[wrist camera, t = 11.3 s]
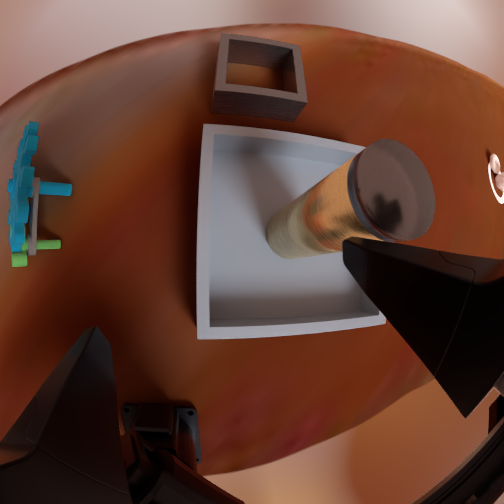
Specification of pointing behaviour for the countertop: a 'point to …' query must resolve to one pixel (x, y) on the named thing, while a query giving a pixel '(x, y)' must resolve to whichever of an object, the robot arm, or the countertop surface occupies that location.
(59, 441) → the robot arm
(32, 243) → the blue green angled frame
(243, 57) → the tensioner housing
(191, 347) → the countertop surface
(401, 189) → the capped labeled canister
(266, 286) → the tray
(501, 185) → the teacup and saucer
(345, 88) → the countertop surface
